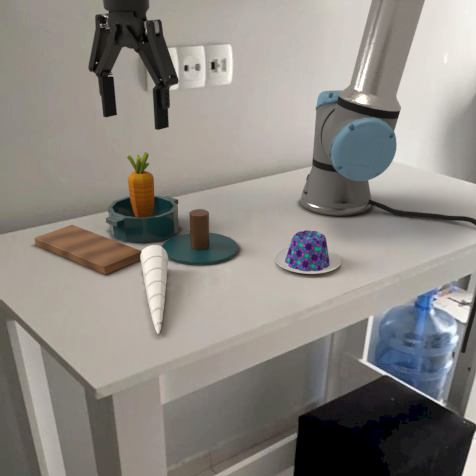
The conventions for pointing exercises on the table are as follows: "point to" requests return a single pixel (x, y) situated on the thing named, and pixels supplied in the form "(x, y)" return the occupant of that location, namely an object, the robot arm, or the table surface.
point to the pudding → (308, 254)
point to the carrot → (141, 187)
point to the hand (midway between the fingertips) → (135, 122)
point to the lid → (200, 243)
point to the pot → (144, 220)
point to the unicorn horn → (155, 280)
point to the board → (88, 249)
